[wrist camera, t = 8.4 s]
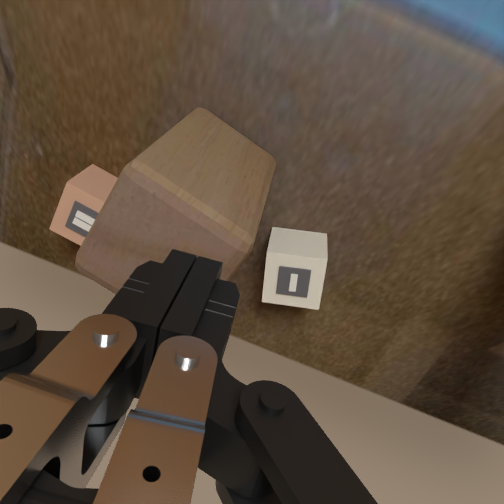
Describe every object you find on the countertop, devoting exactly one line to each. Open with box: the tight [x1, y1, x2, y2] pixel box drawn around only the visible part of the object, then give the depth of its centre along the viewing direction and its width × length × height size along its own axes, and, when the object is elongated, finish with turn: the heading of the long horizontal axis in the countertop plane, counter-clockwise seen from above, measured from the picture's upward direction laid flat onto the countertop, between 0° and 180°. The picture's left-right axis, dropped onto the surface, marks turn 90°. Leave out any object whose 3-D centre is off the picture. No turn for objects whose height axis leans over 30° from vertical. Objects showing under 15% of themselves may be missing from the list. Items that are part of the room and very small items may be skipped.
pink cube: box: [50, 164, 118, 246], centre depth 51 cm, size 6×6×6 cm
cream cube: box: [262, 227, 327, 310], centre depth 51 cm, size 6×6×6 cm
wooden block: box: [75, 107, 277, 294], centre depth 41 cm, size 10×10×20 cm
